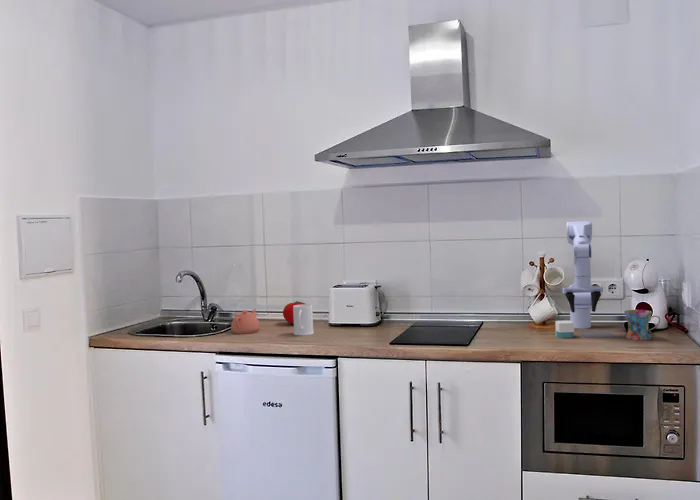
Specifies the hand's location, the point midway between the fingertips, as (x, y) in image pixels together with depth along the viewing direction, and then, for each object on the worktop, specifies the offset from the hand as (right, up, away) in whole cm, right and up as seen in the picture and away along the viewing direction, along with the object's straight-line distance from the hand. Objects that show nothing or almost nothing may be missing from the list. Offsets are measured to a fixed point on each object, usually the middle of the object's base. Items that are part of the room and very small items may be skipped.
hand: (583, 311), depth 248 cm
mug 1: (-108, -12, +28) cm, 112 cm away
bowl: (-7, -10, -1) cm, 12 cm away
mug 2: (+18, -10, -9) cm, 23 cm away
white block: (-7, -7, -1) cm, 10 cm away
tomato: (-113, -11, +56) cm, 126 cm away
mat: (+6, -10, +1) cm, 11 cm away
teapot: (-133, -13, +40) cm, 140 cm away
